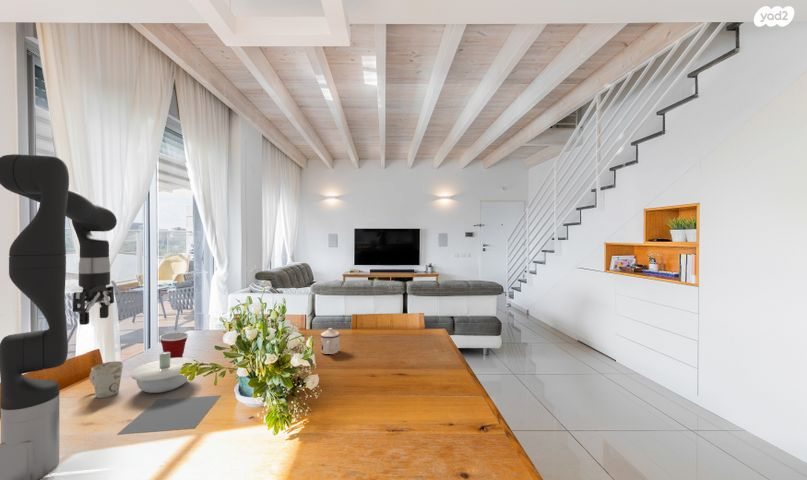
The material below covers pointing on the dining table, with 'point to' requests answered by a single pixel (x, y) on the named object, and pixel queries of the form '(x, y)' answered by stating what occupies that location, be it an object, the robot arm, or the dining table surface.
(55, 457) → the robot arm
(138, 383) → the cereal bowl
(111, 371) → the mug
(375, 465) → the dining table surface
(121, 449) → the dining table surface
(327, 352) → the teacup with lid
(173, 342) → the plastic cup
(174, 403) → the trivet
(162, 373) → the lid
